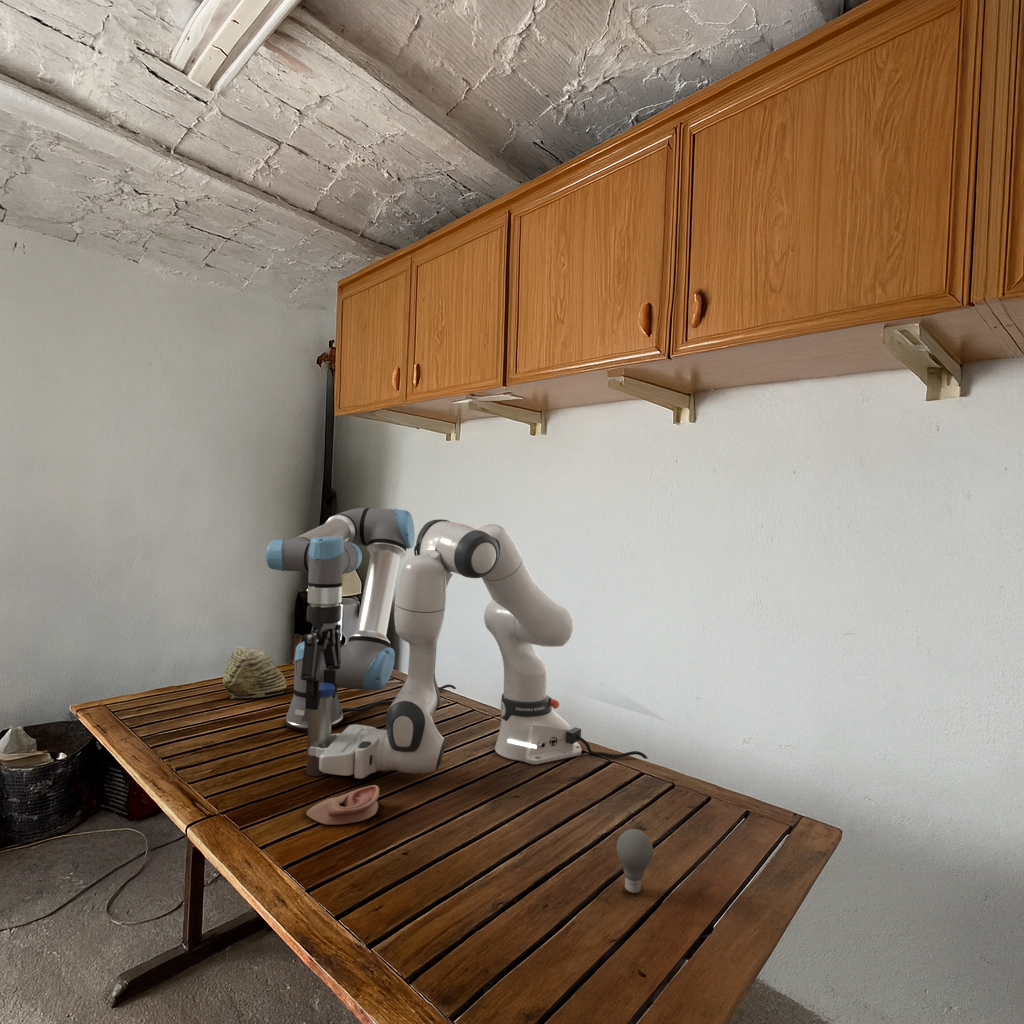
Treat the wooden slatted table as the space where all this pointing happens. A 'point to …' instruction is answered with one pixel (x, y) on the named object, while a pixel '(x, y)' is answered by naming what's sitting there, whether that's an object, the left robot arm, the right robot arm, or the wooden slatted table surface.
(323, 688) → the lid
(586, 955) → the wooden slatted table surface
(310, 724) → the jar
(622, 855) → the light bulb
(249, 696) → the fossil
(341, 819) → the anatomical model
